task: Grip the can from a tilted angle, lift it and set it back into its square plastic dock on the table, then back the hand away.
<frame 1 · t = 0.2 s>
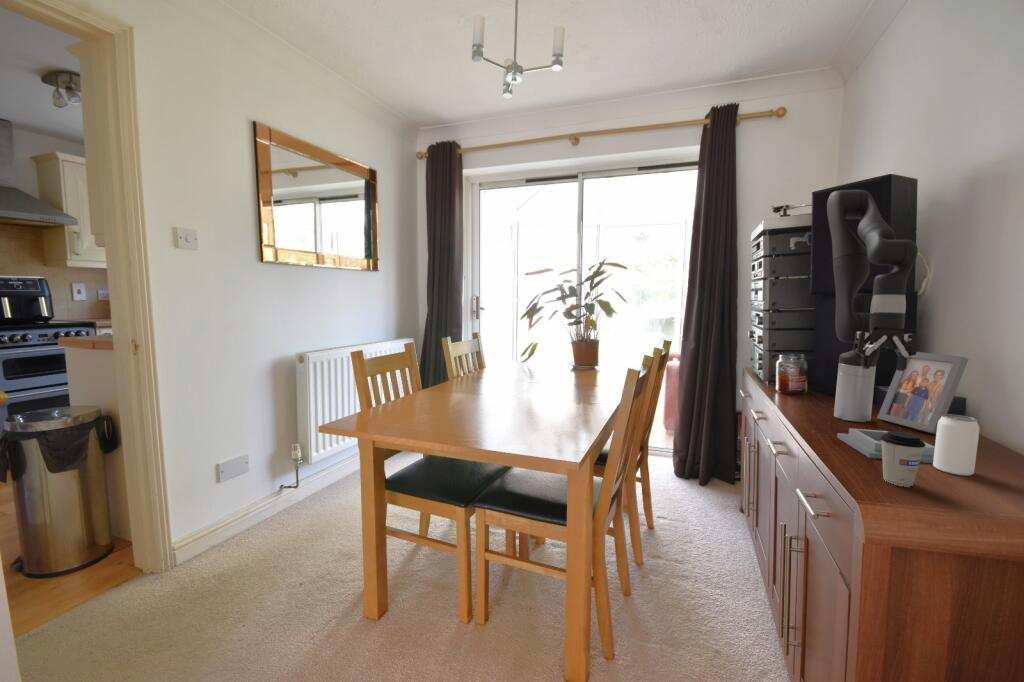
hand: (882, 369, 125), 18 cm above the table, tool pointing down, fingers open, 8 cm apart
coffee cup: (897, 483, 91), on the table
can dock: (888, 450, 111), on the table
can: (952, 471, 98), on the table
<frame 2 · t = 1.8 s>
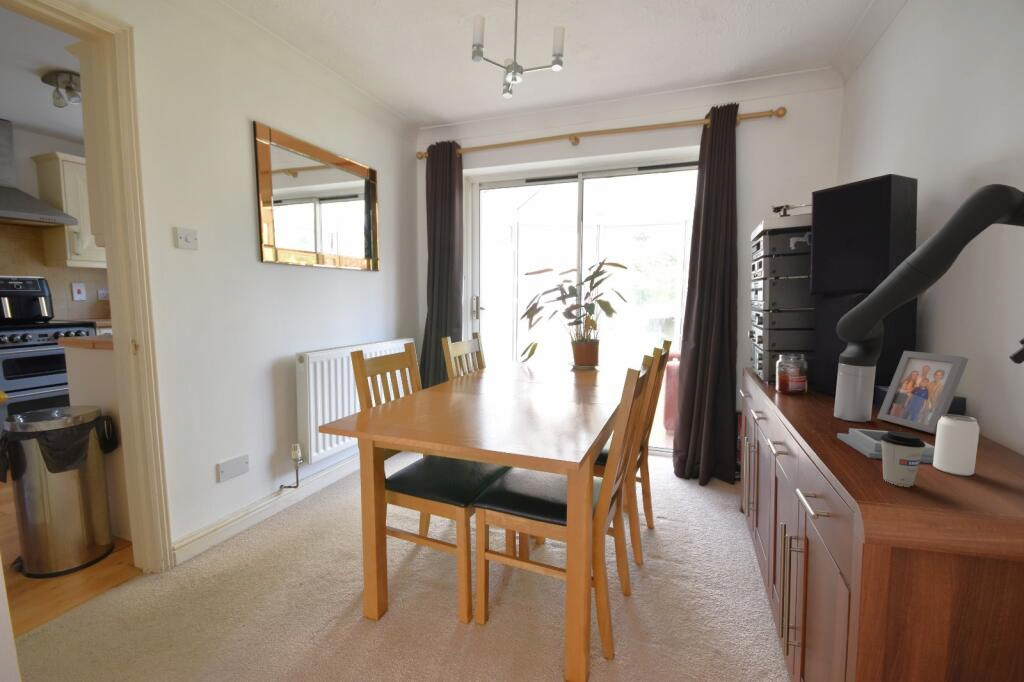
nothing on the table moved.
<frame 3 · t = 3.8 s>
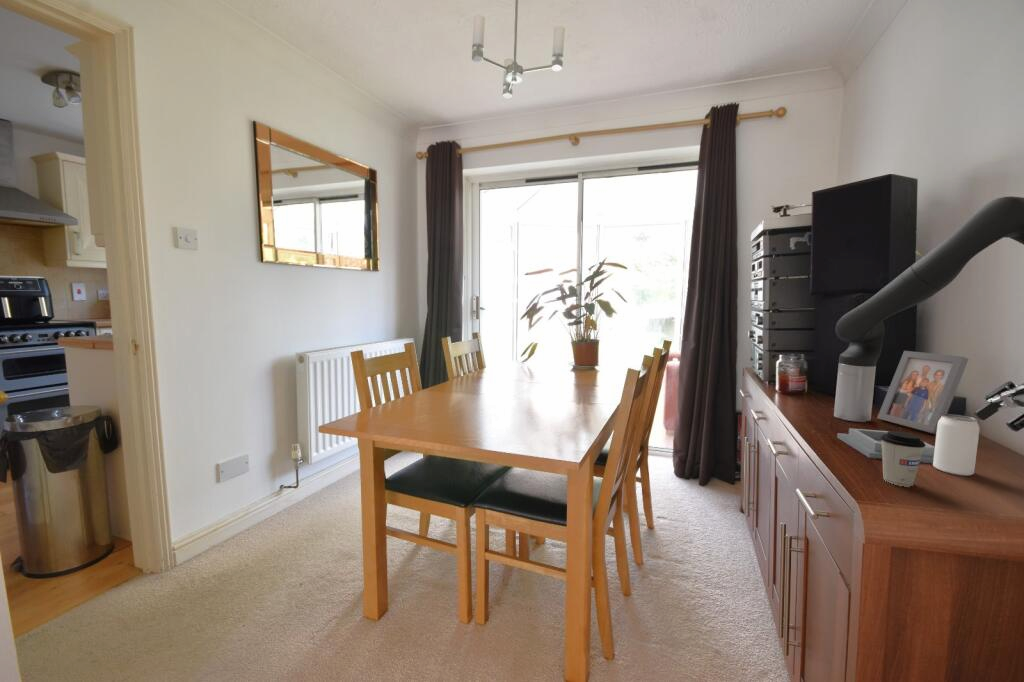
hand: (993, 422, 96), 11 cm above the table, tool tilted 45°, fingers open, 8 cm apart
nothing on the table moved.
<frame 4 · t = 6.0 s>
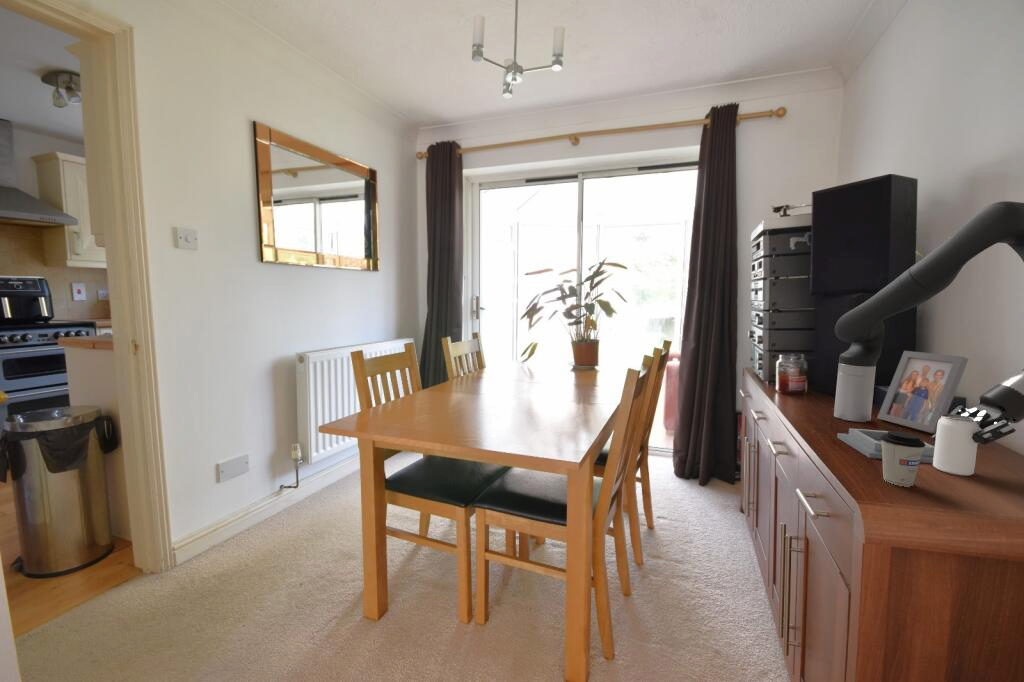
hand: (942, 445, 99), 5 cm above the table, tool tilted 45°, fingers closed on can, 4 cm apart
can: (952, 471, 98), on the table, touching gripper
everything else where it was.
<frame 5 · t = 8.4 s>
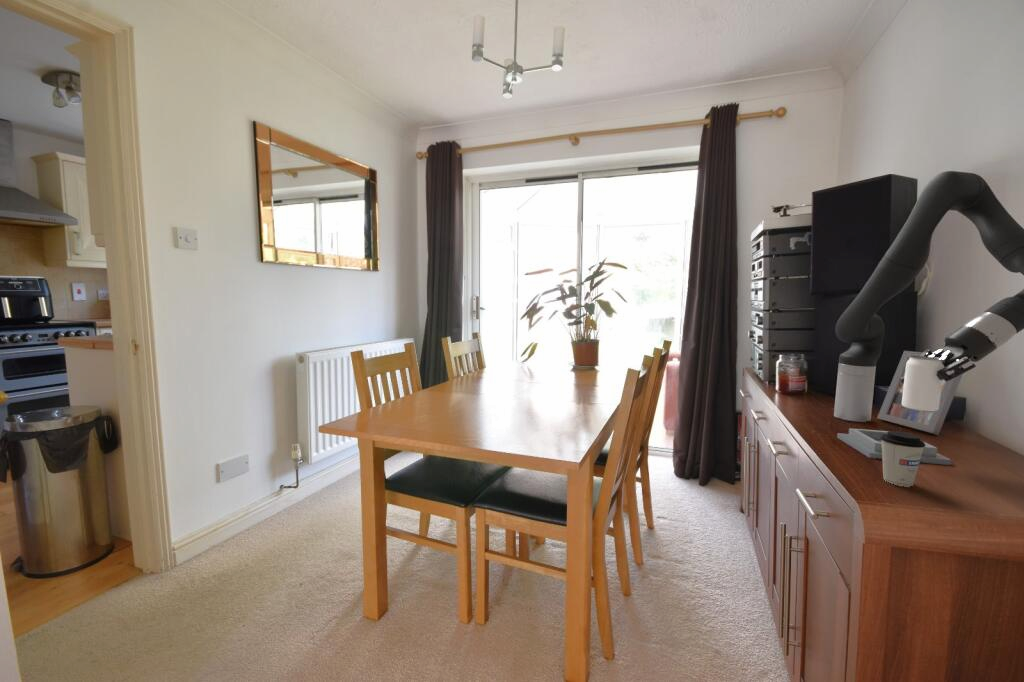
hand: (910, 385, 105), 17 cm above the table, tool tilted 45°, fingers closed on can, 4 cm apart
can: (919, 409, 104), point 12 cm above the table, touching gripper
everything else where it was.
when the fingers open (8 cm above the table, at t = 10.7 s): can drops 1 cm, resting on can dock.
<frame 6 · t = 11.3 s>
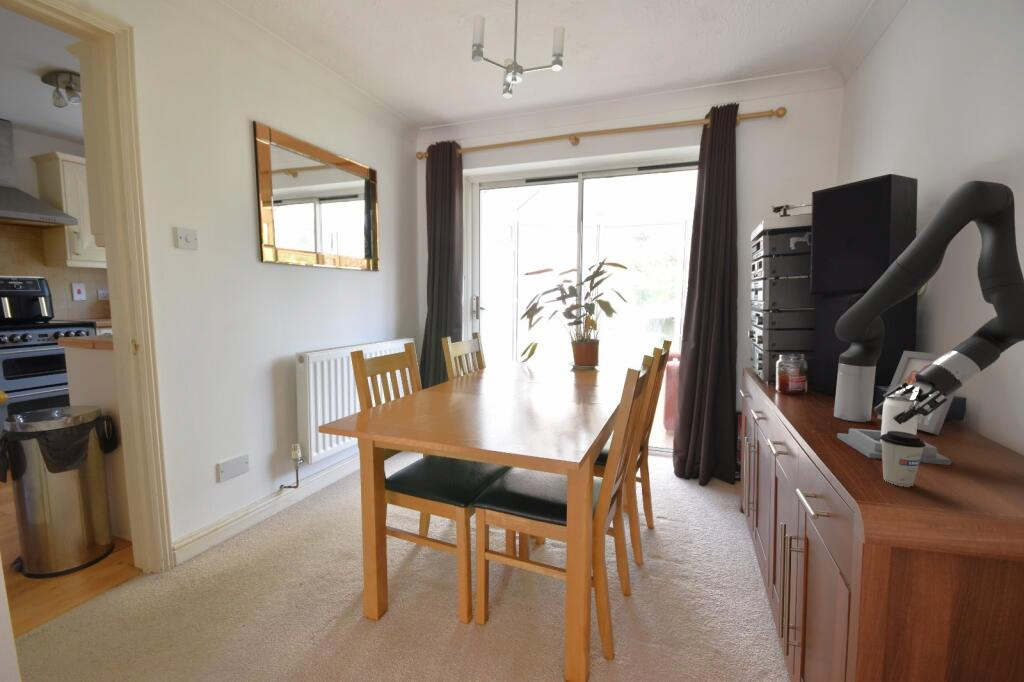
hand: (886, 416, 111), 8 cm above the table, tool tilted 45°, fingers open, 8 cm apart
can: (897, 448, 109), point 1 cm above the table, touching can dock, gripper
everything else where it was.
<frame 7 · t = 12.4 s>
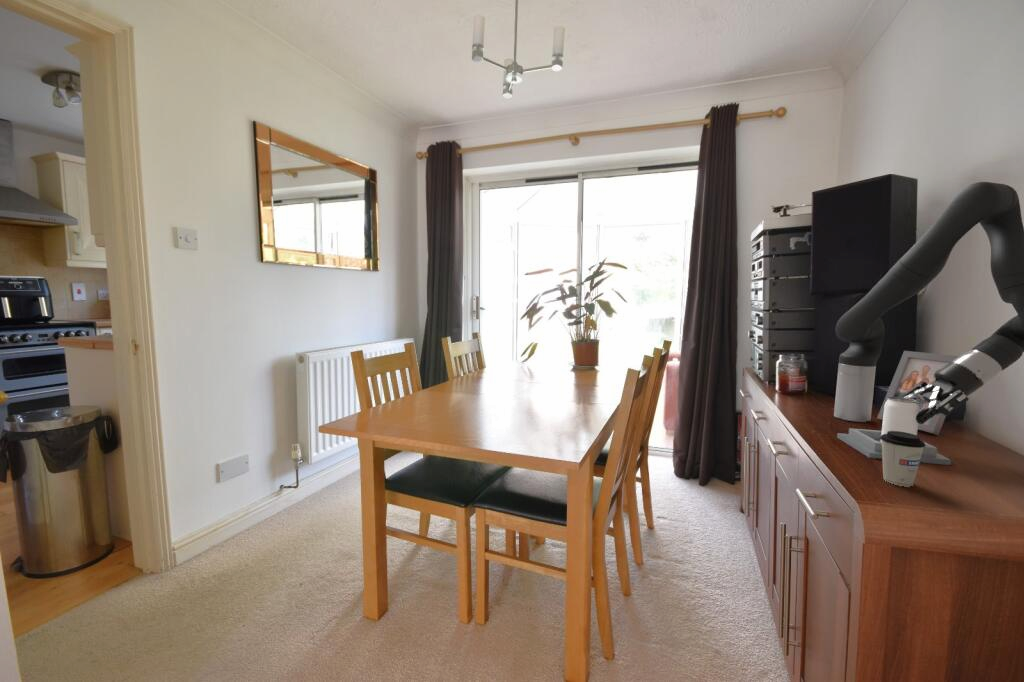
hand: (905, 416, 110), 9 cm above the table, tool tilted 45°, fingers open, 8 cm apart
can: (897, 448, 109), point 1 cm above the table, touching can dock
everything else where it was.
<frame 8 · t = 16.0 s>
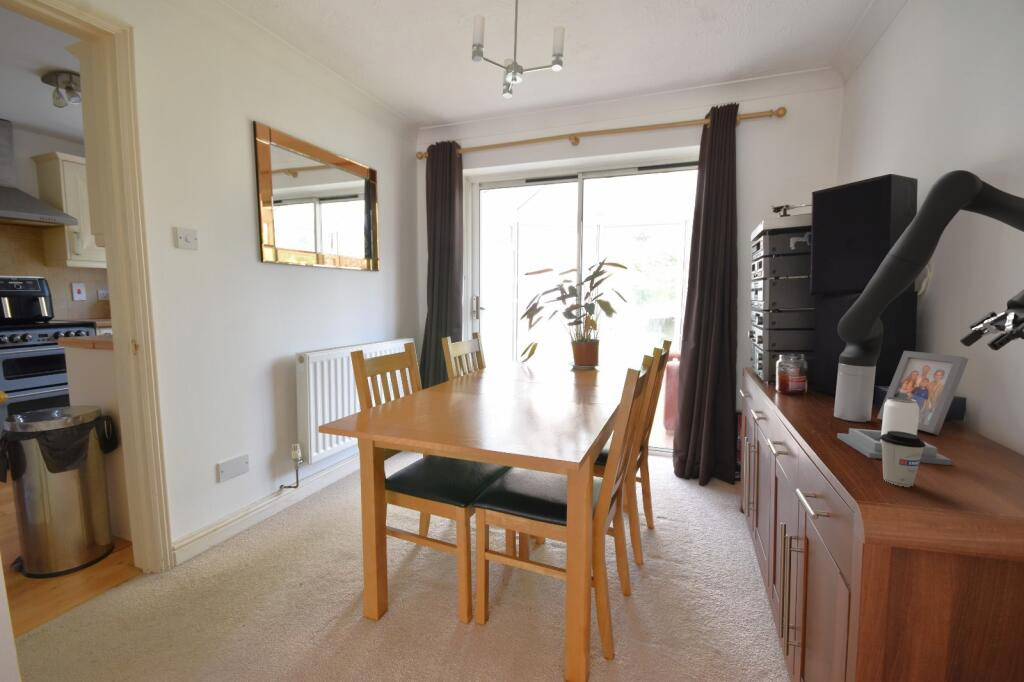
hand: (976, 345, 107), 27 cm above the table, tool tilted 45°, fingers open, 8 cm apart
nothing on the table moved.
at the end: can 1.9 cm off-centre on the can dock, point 1.0 cm above the can dock's base; can tilted 0°; the gripper is holding nothing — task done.
